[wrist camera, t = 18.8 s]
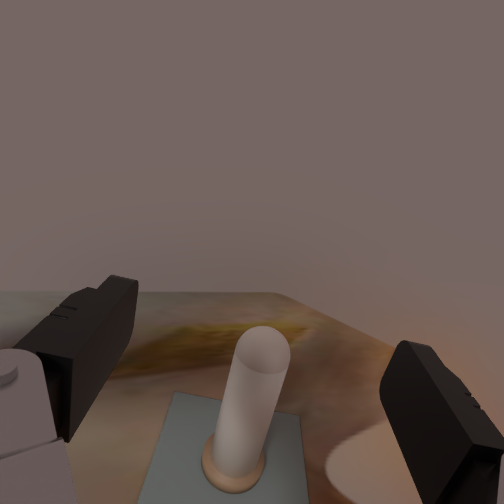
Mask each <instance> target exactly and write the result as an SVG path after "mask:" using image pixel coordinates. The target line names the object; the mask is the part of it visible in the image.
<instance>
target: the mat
mask: <svg viewBox="0 0 504 504" xmlns="http://www.w3.org/2000/svg"><path fill="white" fill-rule="evenodd" d="M221 405H222V400H216V399H211V398H206V397H201V396H196V395H191V394H186V393H181V392H176V391H175V393H174V396H173V399H172V402H171V405H170V407H169V410H168V413H167V416H166V419H165V422H164V425H163V428H162V431H161V434H160V437H159V440H158V443H157V446H156V449H155V452H154V455H153V458H152V461H151V464H150V467H149V470H148V473H147V476H146V479H145V482H144V485H143V488H142V491H141V494H140V497H139V499H138V502H137V504H309V498H308V489H307V480H306V471H305V463H304V454H303V445H302V437H301V428H300V419H299V416H297V415H292V414H287V413H282V412H277V411H274V413H273V416H272V419H271V422H270V425H269V429H268V432H267V435H266V438H265V441H264V444H263V447H262V451H263V454H264V467H263V470H262V473H261V476H260V479H259V481H258V482H257V484H256V485H255V486H254V487H253V488H252V489H251V490H249V491H247V492H245V493H241V494H228V493H224V492H222V491H220V490H218V489H216V488H215V487H213V486H212V485H211V484H210V483H209V482H208V480H207V479H206V477H205V476H204V473H203V471H202V466H201V458H202V453H203V449H204V445H205V443H206V441H207V439H208V438H209V437H210V436H211V435H212V434H213V433H215V429H216V425H217V421H218V417H219V413H220V409H221Z"/></svg>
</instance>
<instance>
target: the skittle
mask: <svg viewBox="0 0 504 504" xmlns="http://www.w3.org/2000/svg"><path fill="white" fill-rule="evenodd" d="M290 356H291V354H290V348H289V344H288V342H287V340H286V339H285V337H284V336H283V335H282V334H281V333H280V332H279V331H277V330H276V329H274V328H271V327H268V326H257V327H253V328H251V329H249V330H248V331H246V332H245V333H244V334H243V335H242V336H241V337H240V339H239V340H238V342H237V345H236V348H235V352H234V356H233V360H232V364H231V368H230V372H229V376H228V380H227V384H226V388H225V392H224V396H223V401H222V405H221V409H220V413H219V417H218V421H217V425H216V429H215V433H213V434H212V435H211V436H210V437H209V438H208V439H207V441H206V443H205V445H204V449H203V453H202V458H201V466H202V471H203V473H204V476H205V477H206V479H207V480H208V482H209V483H210V484H211V485H212V486H213V487H215V488H216V489H218V490H220V491H222V492H224V493H228V494H241V493H245V492H247V491H249V490H251V489H252V488H253V487H254V486H255V485H256V484H257V482H258V481H259V479H260V476H261V473H262V470H263V467H264V454H263V451H262V447H263V444H264V441H265V438H266V435H267V432H268V429H269V425H270V422H271V419H272V416H273V413H274V410H275V407H276V404H277V401H278V397H279V394H280V391H281V388H282V385H283V382H284V379H285V376H286V373H287V370H288V366H289V363H290Z"/></svg>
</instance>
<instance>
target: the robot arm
mask: <svg viewBox="0 0 504 504" xmlns="http://www.w3.org/2000/svg"><path fill="white" fill-rule="evenodd" d="M137 295H138V281H137V280H133V279H129V278H124V277H120V276H115V275H110V276H109V277H108V278H107V279H106V280H105V281H104V282H103V283H102V284H101V285H100V286H99V287H98V288H97V289H94V288H89V287H87V288H85V289H82V290H80V291H77V292H75V293H73V294H71V295H70V296H68V297H67V298H66V299H65V300H64V301H63V302H62V303H61V304H60V305H59V307H56V308H55V309H54V310H53V311H52V312H51V313H50V315H49V316H47V317H46V318H44V319H43V320H42V321H41V322H40V323H39V324H38V325H37V326H36V327H35V328H34V329H32V330H31V331H30V332H29V333H28V334H27V335H26V336H25V337H24V338H23V339H21V340H20V341H19V342H18V343H17V344H16V345H15V346H14V347H13V348H12V349H1V350H0V504H78V501H77V496H76V492H75V487H74V482H73V478H72V473H71V469H70V464H69V460H68V455H67V451H66V446H65V443H64V442H67V443H69V442H70V440H71V438H72V437H73V435H74V433H75V432H76V430H77V428H78V427H79V425H80V423H81V422H82V420H83V418H84V417H85V415H86V413H87V412H88V410H89V408H90V407H91V405H92V403H93V402H94V400H95V398H96V397H97V395H98V393H99V392H100V390H101V389H102V387H103V385H104V384H105V382H106V380H107V379H108V377H109V375H110V374H111V372H112V370H113V369H114V367H115V365H116V364H117V362H118V360H119V359H120V357H121V355H122V354H123V352H124V350H125V349H126V347H127V345H128V343H129V340H130V338H131V335H132V331H133V326H134V319H135V311H136V303H137ZM379 393H380V400H381V403H382V405H383V408H384V410H385V412H386V415H387V417H388V420H389V422H390V424H391V427H392V429H393V432H394V434H395V437H396V439H397V442H398V444H399V447H400V449H401V451H402V454H403V456H404V459H405V461H406V463H407V466H408V469H409V471H410V473H411V476H412V478H413V481H414V483H415V485H416V488H417V491H418V493H419V495H420V498H421V500H422V503H423V504H504V437H503V436H502V435H501V433H500V432H499V431H498V429H497V428H496V427H495V425H494V424H493V423H492V421H491V420H490V418H489V417H488V416H487V415H486V413H485V412H484V411H483V410H481V409H480V405H479V404H478V402H477V401H476V400H475V398H474V397H471V393H470V392H469V391H468V389H467V388H466V386H465V385H464V384H463V383H462V381H461V380H460V379H459V378H458V377H457V376H456V375H455V374H453V373H452V372H451V371H450V370H449V369H448V368H447V367H445V366H444V364H443V363H442V361H441V360H440V359H439V357H438V356H437V354H436V353H435V352H434V350H433V349H432V348H431V347H430V346H428V345H424V344H419V343H414V342H410V341H405V340H403V341H401V342H400V343H399V344H398V345H397V347H396V349H395V352H394V354H393V356H392V358H391V360H390V362H389V364H388V366H387V369H386V371H385V373H384V375H383V377H382V379H381V383H380V390H379Z"/></svg>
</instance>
